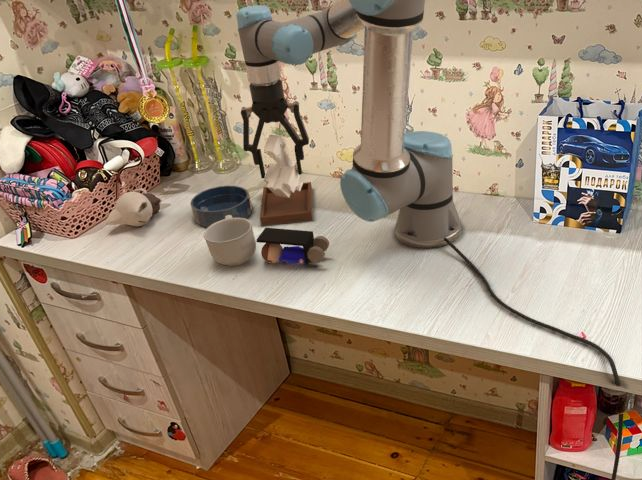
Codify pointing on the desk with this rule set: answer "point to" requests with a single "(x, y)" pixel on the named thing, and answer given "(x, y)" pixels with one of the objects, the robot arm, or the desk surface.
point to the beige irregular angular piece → (281, 169)
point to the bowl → (220, 204)
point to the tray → (286, 206)
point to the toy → (134, 208)
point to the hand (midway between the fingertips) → (281, 174)
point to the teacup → (231, 240)
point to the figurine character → (295, 254)
